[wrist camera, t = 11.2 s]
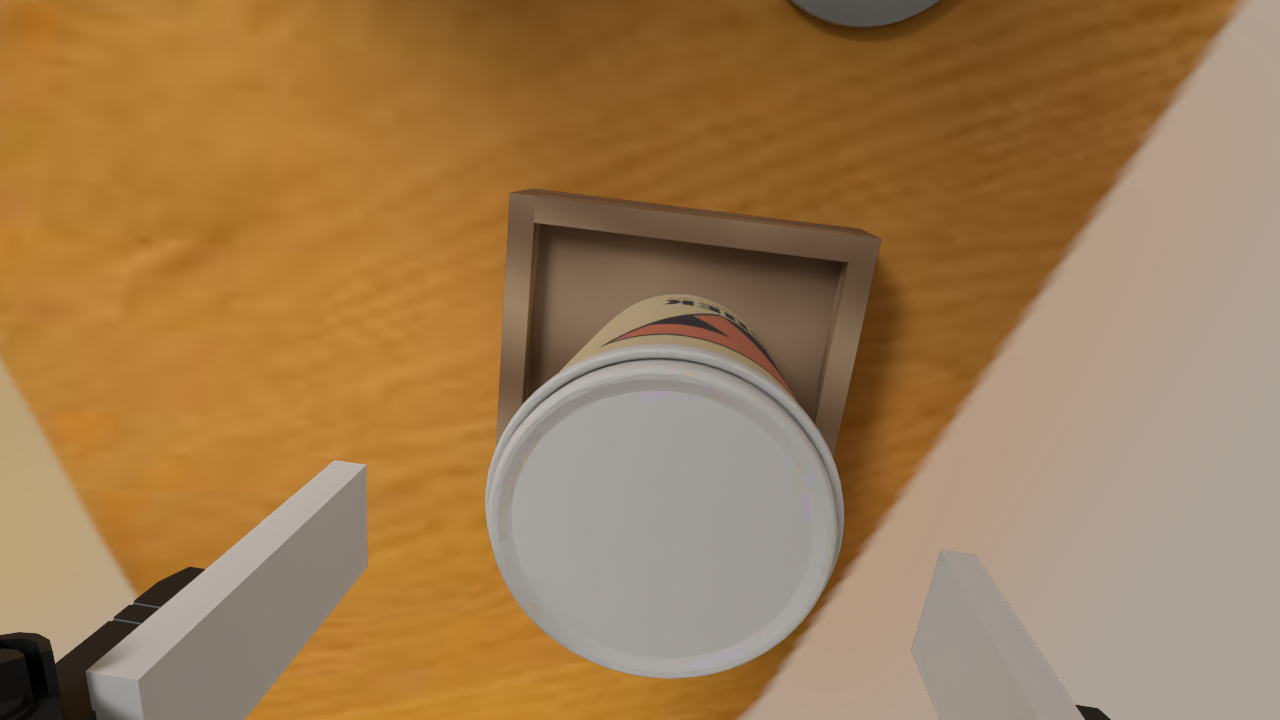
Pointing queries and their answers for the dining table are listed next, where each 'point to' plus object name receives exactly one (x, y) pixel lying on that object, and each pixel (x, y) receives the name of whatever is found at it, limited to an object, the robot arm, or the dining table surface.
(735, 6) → the dining table surface
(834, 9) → the slate coaster
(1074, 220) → the dining table surface
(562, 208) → the square wooden tray
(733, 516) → the coffee cup
